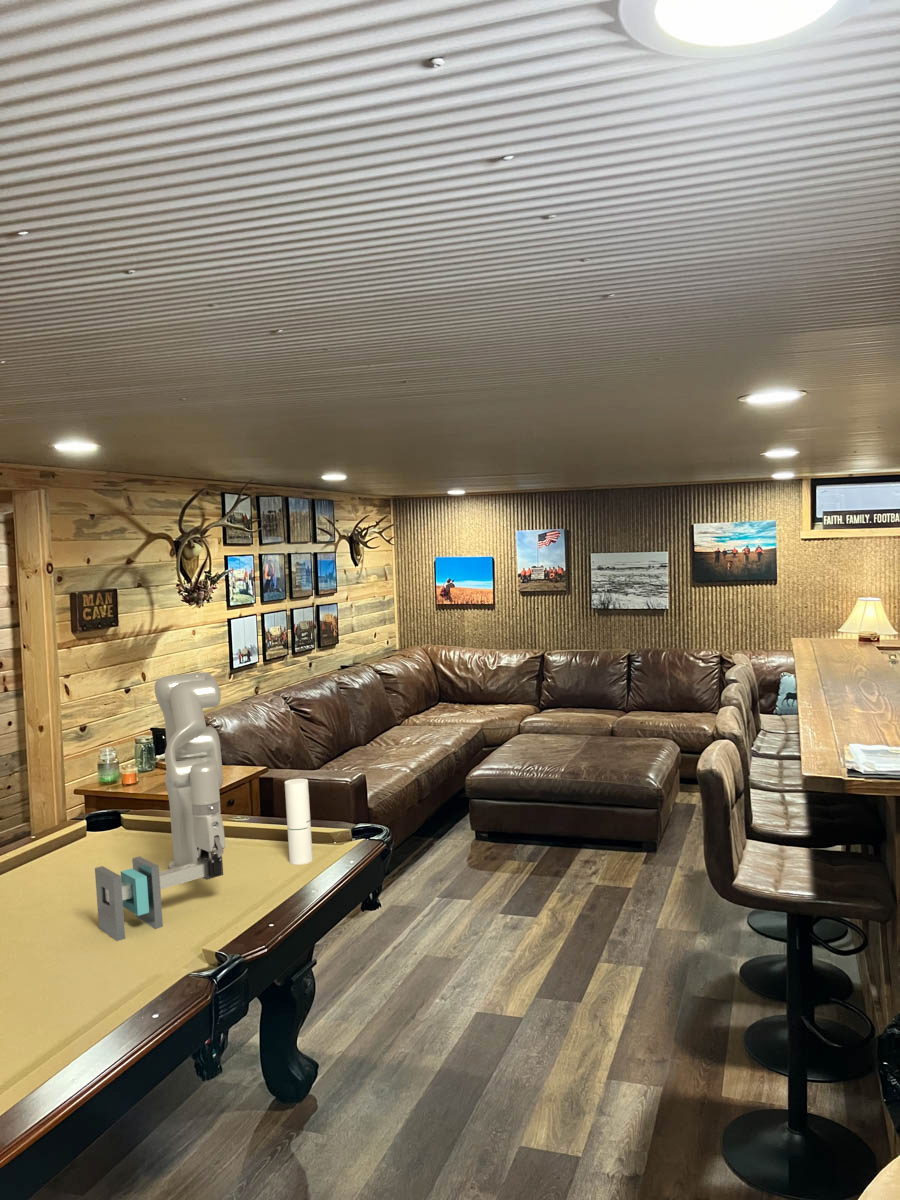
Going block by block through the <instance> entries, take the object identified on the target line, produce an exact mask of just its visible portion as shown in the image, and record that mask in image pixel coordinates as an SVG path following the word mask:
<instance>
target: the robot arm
mask: <svg viewBox="0 0 900 1200" xmlns="http://www.w3.org/2000/svg"><path fill="white" fill-rule="evenodd" d="M154 694H155V699H156V702H157V703H158V706H159V707H160V709H161V712H162V715H163V717H164V727H165V738H166V739H165V740H166V747H165V750H164V763H165V769H166V771H165V775H164V782H165V783H164V784H165V787H166V792H167V796H168V803H169V804H168V805H169V812H170V828H171V845H172V855H173V856H172V857H173V859H172V860H171V861H169V862H168V868H169V869H172V868H176V867H179V866H183V865H187V864H190V863H194V862H197V858H199V857H202V856H206V855H209V858H210V863H209V871H210V877H215V876H218V875H221V857H222V858H223V855H224V853H225V852H224V851H225V850H224V849H225V848H226V838H225V828H224V824H223V818H222V814H221V813H222V811H221V799H220V798H221V796H220V789H221V788H222V787H223V785H224V771H223V763H222V752H221V751H222V750H221V742H220V736H219V733H218V731H217V730H216V728H214V726H207V724H206V720H205V716H204V715H205V714H204V709H210V708H215V707H218V706H219V705H220V703H221V700H222V699H221V697H222V695H221V689H220V686H219V683H218V681H217V680H216V678H214V676H213V675H212V674H211V673H210V672H204V671H201V672H193V673H192V672H191V673H181V674H172V675H167V676H166V675H165V676H162V677H159V678H158V679H156V681H155V682H154ZM213 853H214V856H213ZM221 876H222V875H221ZM218 877H219V876H218ZM215 878H216V877H215Z"/></svg>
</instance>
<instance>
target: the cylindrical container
mask: <svg viewBox="0 0 900 1200" xmlns="http://www.w3.org/2000/svg"><path fill="white" fill-rule="evenodd" d="M284 792H285V795H284V796H285V797H284V798H285V810H286V824H287V825H286V826H287V840H288V841H287V842H288V858H289V859H288V860H289V863H290V864H291V865H294V866H295V865H297V866H298V865H300V866H301V865H307V864H309V863H311V862H313V857H314V856H313V843H312V842H313V840H312V828H311V827H312V826H311V825H312V824H311V810H310V792H309V780H308V779H307V778H292V779H288V780H285V781H284Z"/></svg>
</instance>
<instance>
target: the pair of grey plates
mask: <svg viewBox="0 0 900 1200" xmlns="http://www.w3.org/2000/svg"><path fill="white" fill-rule="evenodd" d="M131 862H132V869H134V870H136V871H138V872H140V873H141V874H143V875H145V876H147V888H148V902H149V913H146V914H143V915H139V916H137V915H136V914H135V916H136V918H137V919H138V920H141V922H144V923H145V924H146V925H149V926H150V927H152V928H153V929H155V930H157V929H160V928H163V927H164V921H163V920H164V919H163V907H162V895H161V894H162V893H161V890H160V876H159V872H160V866H159V865H158V864H156V863H154V862H153V861H150V860H148V859H146V858H144V857H141V856H136V857H132V861H131ZM94 874H95V877H94V878H95V889H96V890H95V891H96V892H95V893H96V903H97V904H96V905H97V915H98V916H97V917H98V918H97V921H98V929H99V930H100V929H101V930H100V931H102V932H103V933H104V934H106V935H108V937H110V938H112V939H114V940H115V941H117V942H119V941H122V940H125V939H126V931H125V930H126V929H125V917H124V907H123V900H122V886H121V874H118V873H116V872H115V871H113V870H110V869H109V868H107V867H105V866H102V865H101V866H96V867H94ZM105 889H107V890H109V902H107V901H106V898H105Z"/></svg>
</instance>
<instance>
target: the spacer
mask: <svg viewBox="0 0 900 1200" xmlns="http://www.w3.org/2000/svg"><path fill="white" fill-rule="evenodd" d="M120 876H121V883H122V882H125V881H126V882H128V883H129V884H131V885H133V896H134V897H133V898H130V899H126V900H123V909H125V910H128V911H129V912H131V913H132V914H134V915H135V916H136V915H137V916H139V915H143V914H146V913H149V902H148V888H147V876H145V875H143V874H141V873H140V872H138V871H136V870H134V869H133V867H132V868H129V869H128V868H127V869H124V870H120Z"/></svg>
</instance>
